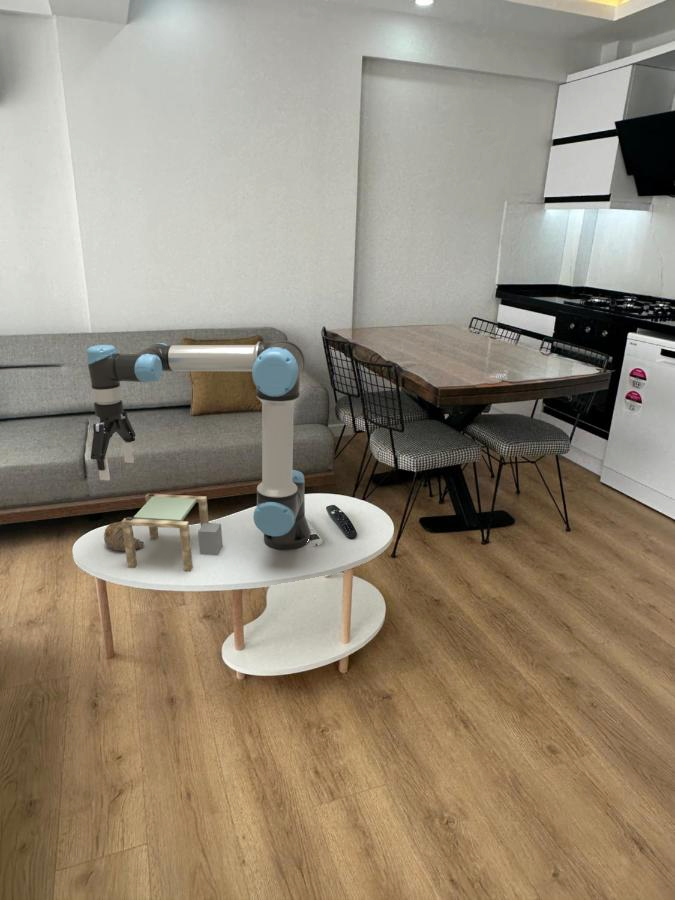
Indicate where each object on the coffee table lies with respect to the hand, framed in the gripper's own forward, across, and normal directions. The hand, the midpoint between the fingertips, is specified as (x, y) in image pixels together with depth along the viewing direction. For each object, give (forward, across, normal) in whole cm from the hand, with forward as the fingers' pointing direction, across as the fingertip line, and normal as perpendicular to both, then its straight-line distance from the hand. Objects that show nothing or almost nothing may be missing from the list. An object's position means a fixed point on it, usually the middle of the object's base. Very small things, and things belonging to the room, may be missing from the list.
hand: (117, 470), depth 177 cm
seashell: (+27, -4, -4) cm, 28 cm away
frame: (+27, -1, +13) cm, 30 cm away
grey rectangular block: (+23, -5, +25) cm, 34 cm away
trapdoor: (+15, -1, +13) cm, 20 cm away
